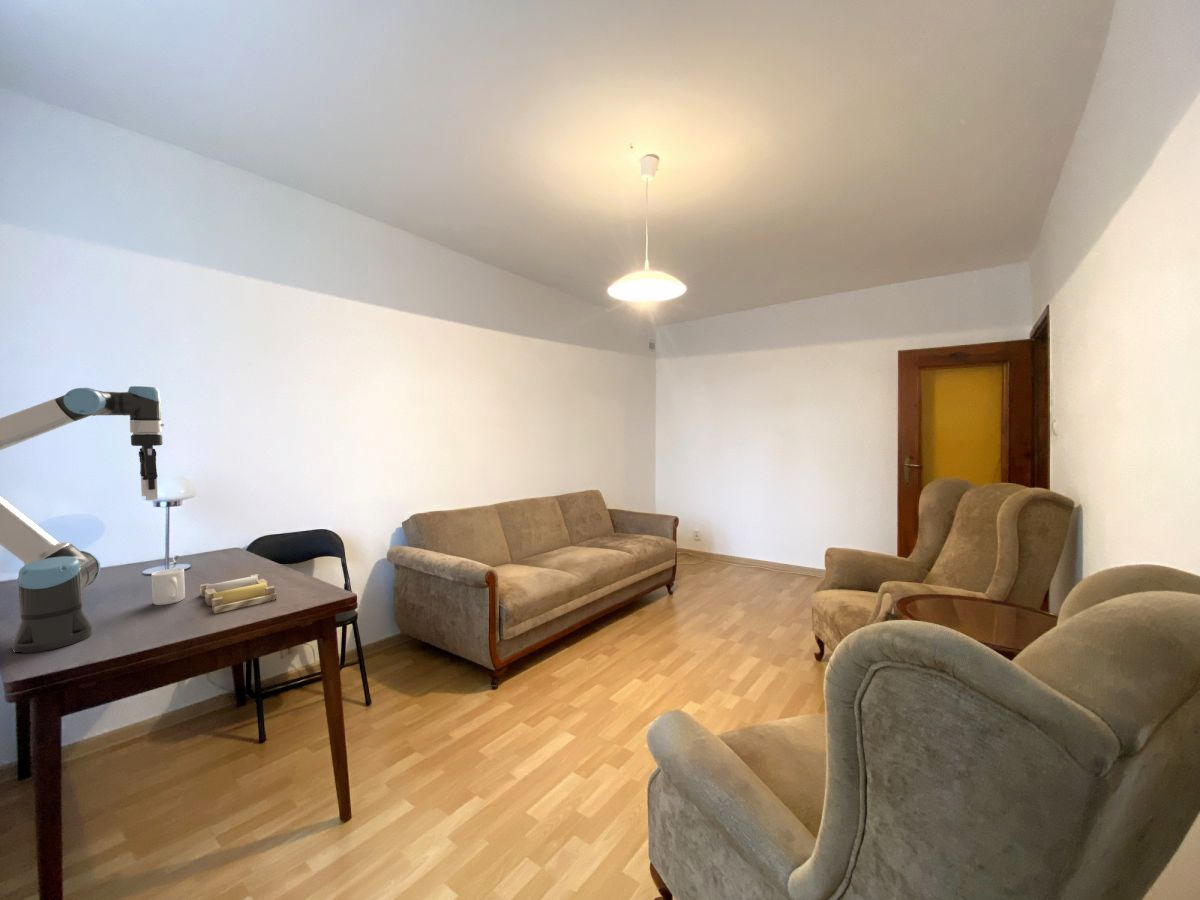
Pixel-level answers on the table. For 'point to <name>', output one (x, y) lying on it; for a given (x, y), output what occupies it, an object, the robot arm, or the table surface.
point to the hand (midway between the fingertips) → (149, 497)
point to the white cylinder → (233, 584)
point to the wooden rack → (219, 607)
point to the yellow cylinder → (242, 593)
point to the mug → (168, 586)
